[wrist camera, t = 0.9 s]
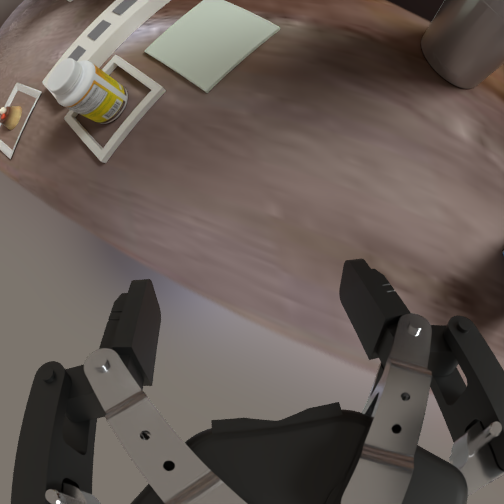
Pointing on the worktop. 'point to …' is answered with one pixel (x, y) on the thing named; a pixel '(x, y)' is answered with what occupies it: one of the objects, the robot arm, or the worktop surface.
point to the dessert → (15, 114)
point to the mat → (210, 41)
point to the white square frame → (131, 120)
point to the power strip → (110, 31)
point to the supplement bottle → (87, 90)
